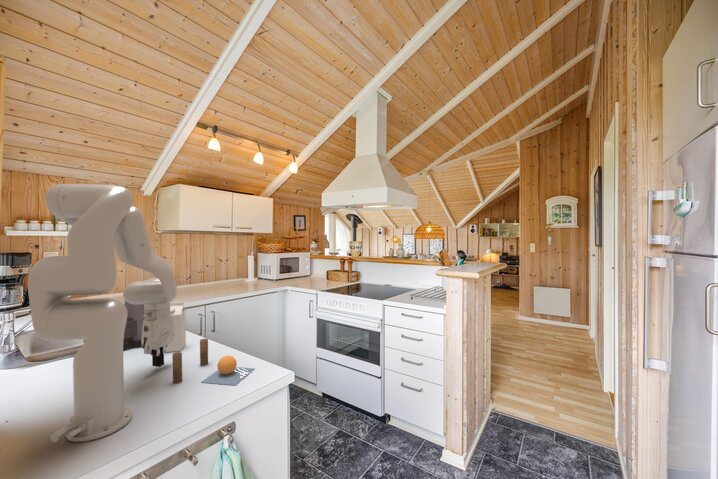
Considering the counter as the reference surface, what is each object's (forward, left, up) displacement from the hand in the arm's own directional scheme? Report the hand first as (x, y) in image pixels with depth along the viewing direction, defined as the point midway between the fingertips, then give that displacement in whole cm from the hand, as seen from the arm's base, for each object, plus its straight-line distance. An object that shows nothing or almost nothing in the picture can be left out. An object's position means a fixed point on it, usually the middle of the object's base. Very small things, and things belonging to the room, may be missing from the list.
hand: (158, 365), depth 108 cm
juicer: (+18, +31, -2) cm, 36 cm away
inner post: (-6, -13, -2) cm, 15 cm away
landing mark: (0, -27, -2) cm, 27 cm away
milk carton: (+18, +9, -2) cm, 20 cm away
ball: (+1, -26, +2) cm, 26 cm away
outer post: (+7, -13, -2) cm, 15 cm away
